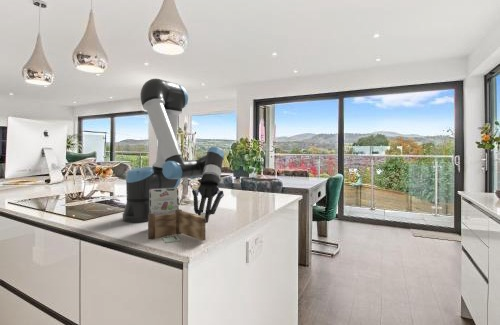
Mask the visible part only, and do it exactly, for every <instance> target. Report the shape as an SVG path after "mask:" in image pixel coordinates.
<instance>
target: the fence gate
mask: <svg viewBox="0 0 500 325" xmlns="http://www.w3.org/2000/svg"><path fill="white" fill-rule="evenodd" d="M205 222H206V219H205V217H203V216H199V215H198V214H196V213H192V212H188V211H185V210H182V211H179V233H182V234H181V235H184V236H188V237H189V238H192V239H195V240H198V241H200V242H203V241H206V223H205Z"/></svg>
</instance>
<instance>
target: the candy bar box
mask: <svg viewBox="0 0 500 325" xmlns="http://www.w3.org/2000/svg"><path fill="white" fill-rule="evenodd" d="M179 198H180V197H179V188H178V187H177V188H160V189H149V206H150V213H155V216H156V215H163V214H170V213H175V210H178V209H180V208H179V206H180V205H179V204H180V203H179V202H180V201H179Z"/></svg>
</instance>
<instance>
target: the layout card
mask: <svg viewBox="0 0 500 325" xmlns="http://www.w3.org/2000/svg"><path fill="white" fill-rule="evenodd" d="M161 239H162V240H163V241H164V243H165V244H167V243H168V244H169V243H175V242H180V241H181V239H180V238H179V237H178V236H177V234H176V235H171V236H166V237H161Z"/></svg>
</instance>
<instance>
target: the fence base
mask: <svg viewBox="0 0 500 325" xmlns="http://www.w3.org/2000/svg"><path fill="white" fill-rule="evenodd" d="M179 211H183V209H180V208H179V209H178V210H175V213H170V214H163V215H156V216H155V213H149V214H148V221H147V225H148V226H147V228H148V229H147V236H148V240H151V241H152V240H155V239H162V237H166V236H173V235H176V236H177V235H183V234H182V233H179Z"/></svg>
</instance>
